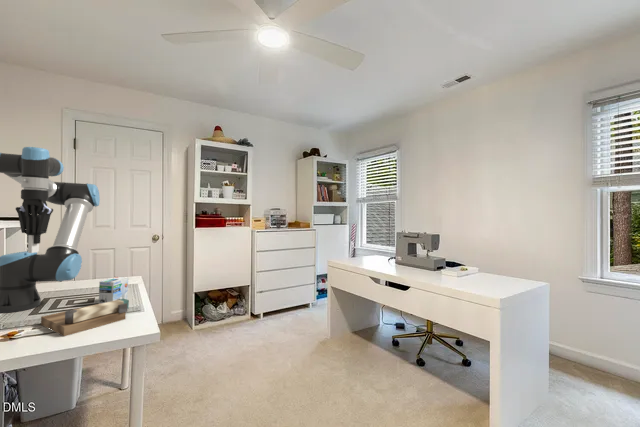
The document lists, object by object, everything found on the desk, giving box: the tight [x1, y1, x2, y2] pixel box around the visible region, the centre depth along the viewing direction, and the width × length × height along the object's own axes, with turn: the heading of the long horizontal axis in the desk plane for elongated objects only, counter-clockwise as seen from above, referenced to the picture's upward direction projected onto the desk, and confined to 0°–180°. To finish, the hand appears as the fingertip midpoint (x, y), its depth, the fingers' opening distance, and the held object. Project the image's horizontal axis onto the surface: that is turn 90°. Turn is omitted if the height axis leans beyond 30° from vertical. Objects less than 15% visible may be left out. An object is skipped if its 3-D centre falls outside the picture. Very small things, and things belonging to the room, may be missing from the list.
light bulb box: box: [98, 276, 129, 304], centre depth 141 cm, size 11×7×11 cm, turn 179°
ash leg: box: [64, 299, 130, 324], centre depth 116 cm, size 21×4×4 cm, turn 152°
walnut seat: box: [40, 303, 129, 337], centre depth 117 cm, size 18×20×6 cm
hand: (33, 252), depth 115 cm, fingers closed
